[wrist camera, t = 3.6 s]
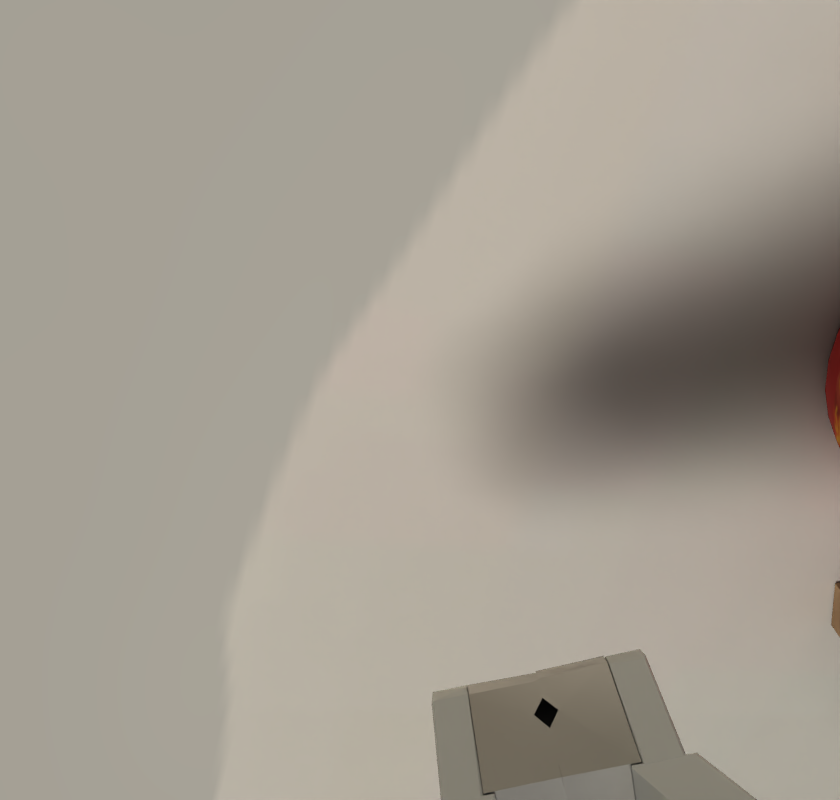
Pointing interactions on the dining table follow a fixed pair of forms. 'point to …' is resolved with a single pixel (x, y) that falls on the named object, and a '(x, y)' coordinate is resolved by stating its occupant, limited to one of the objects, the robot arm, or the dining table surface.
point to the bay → (836, 609)
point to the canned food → (834, 388)
